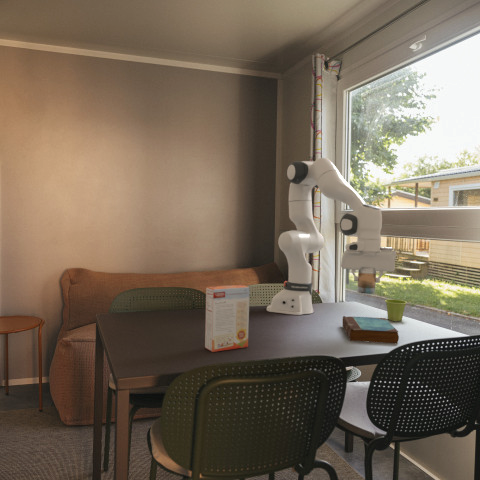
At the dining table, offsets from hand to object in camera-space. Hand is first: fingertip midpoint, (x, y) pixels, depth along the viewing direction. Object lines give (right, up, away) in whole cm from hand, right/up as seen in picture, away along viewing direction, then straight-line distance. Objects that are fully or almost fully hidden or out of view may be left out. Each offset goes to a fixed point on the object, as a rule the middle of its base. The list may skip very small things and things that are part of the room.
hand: (366, 281), depth 175 cm
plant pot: (+21, -21, +30) cm, 42 cm away
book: (+1, -22, +2) cm, 22 cm away
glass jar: (0, -4, 0) cm, 4 cm away
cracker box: (-54, -20, -23) cm, 62 cm away
